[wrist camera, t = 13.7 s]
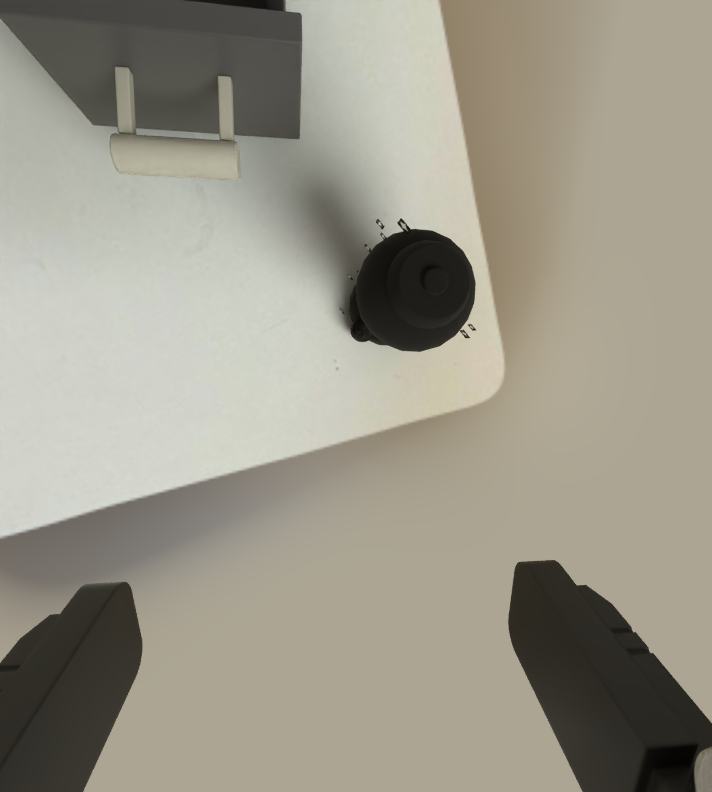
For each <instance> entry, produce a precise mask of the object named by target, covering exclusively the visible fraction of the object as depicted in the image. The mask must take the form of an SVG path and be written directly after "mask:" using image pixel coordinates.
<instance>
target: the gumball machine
mask: <svg viewBox="0 0 712 792" xmlns="http://www.w3.org/2000/svg"><path fill="white" fill-rule="evenodd" d="M376 223H377V224H378V225H379V226H380V227H381V229H383V228H384V226H383V224H382V223H381V222H380V221H379V220H378V219H377V221H376ZM398 225H399V226H400V227H401V228H402V229H403V232H399V233H395V234H393V235H391V236H389V237H388V238H386V237H385V236H384V234H383V233H382V232H381V234H380V235H381V236H382V238H383V239H384V240H383V241H382V242H380V243H379V244H377V245H376V246H375V247H374V248H373V250H371V249H370V248H369V247H368V246H367V244H365V247H366V248H367V250H368V251H369V252H370V254H369V255H368V256H367V257H366V259H365V260H364V262H363V264H362V267H361V270H360V272H359V271H357V272H358V273H359V275H358V278H357V283H356V285H355V286H354V288H353V291H352V294H351V297H350V308H349V311H350V315H351V318H352V321H353V324H352V326H351V335H352V337H353V338H354V339H355V340H357V341H359V342H365V341H371V342H374V343H376V344H379V345H388V346H391V347H393V348H396V349H399V350H401V351H417V352H421V351H424V350H428V349H431V348H435V347H438V346H441V345H442V344H443V343H445V342H446V341H448V340H449V339H451V338H452V337H454V336H455V335H456V334H457V333H458V331H459V330H460V329H461V328H462V326H463V325H464V324H465V322H466V321H467V320H468V318H469V315H470V312H471V310H472V307H473V304H474V299H475V284H476V283H475V279H474V274H473V270H472V266H471V264H470V262H469V261H468V259H467V257H466V255H465V254H464V252H463V250H461V249H460V248H459V247H458V246H457V245H456V244H455V243H454V242H453V241H452V240H451V239H449V238H447V237H445V236H443V235H441V234H438V233H436V232H434V231H430V230H419V229H410V228H409V227H408V226H407V224H406V223H405V222H404V221H403V220H402V218H401V219H400V220H399V222H398ZM348 277H349V278H350V279H351V280H353V279H352V278H351V277H350V275H349V274H348ZM340 310H341V309H340ZM341 312H342V313H343V314H344V312H343V311H342V310H341ZM468 326H469V327H470V328H471V329H472V330H473V331H474V330H476V329H475V328H474V327H473V326H472V325H471V324H469V325H468ZM460 332H461V333H462V334H463V335H464V337H465V338H470V337H469V336H468V335H467V333H466V332H465V331H464V330H460Z"/></svg>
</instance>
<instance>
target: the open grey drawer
mask: <svg viewBox="0 0 712 792" xmlns="http://www.w3.org/2000/svg"><path fill="white" fill-rule="evenodd" d="M0 18H1V19H2V20H3V22H4V23H5V24H6V25H7V26H8V27H9V28H10V30H11V31H12V32H13V33H14V34H15V35H16V37H17V38H18V39H19V40H20V41H21V42H22V43H23V45H24V46H25V47H26V48H27V49H28V50H29V52H30V53H31V54H32V55H33V56H34V57H35V58H36V60H37V61H38V62H39V63H40V64H41V65H42V66H43V68H44V69H45V70H46V71H47V72H48V73H49V75H50V76H51V77H52V78H53V79H54V80H55V81H56V83H57V84H58V85H59V86H60V87H61V88H62V89H63V91H64V92H65V93H66V94H67V95H68V96H69V98H70V99H71V100H72V101H73V102H74V103H75V104H76V106H77V107H78V108H79V109H80V110H81V111H82V113H83V114H84V115H85V116H86V117H87V118H88V119H89V121H90V122H91V123H92V124H93V125H101V126H115V127H118V132H119V134H116V133H114V134H112V135H111V137H110V152H111V157H112V160H113V163H114V166H115V168H116V170H117V171H118V172H119V173H121V174H134V175H153V176H171V177H189V178H208V179H226V180H240V175H241V168H240V154H239V147H238V144H237V142H235V141H234V135H244V136H259V137H273V138H287V139H299V138H300V108H301V66H302V16H301V14H300V13H294V12H285V0H0ZM136 128H144V129H158V130H172V131H187V132H201V133H216V134H220V140H205V139H190V138H175V137H161V136H146V135H136Z"/></svg>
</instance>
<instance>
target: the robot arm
mask: <svg viewBox="0 0 712 792" xmlns="http://www.w3.org/2000/svg"><path fill="white" fill-rule="evenodd" d="M508 621H509V622H508V624H509V633H510V638H511V641H512V645H513V648H514V650H515V653H516V655H517V657H518V659H519V661H520V663H521V665H522V667H523V669H524V671H525V674H526V676H527V678H528V680H529V682H530V684H531V686H532V688H533V690H534V692H535V694H536V696H537V698H538V700H539V703H540V704H541V707H542V708H543V711H544V713H545V715H546V717H547V719H548V721H549V723H550V725H551V727H552V729H553V731H554V733H555V736H556V738H557V740H558V742H559V744H560V746H561V748H562V750H563V752H564V754H565V756H566V758H567V760H568V762H569V765H570V767H571V769H572V771H573V772H574V775H575V777H576V779H577V781H578V783H579V785H580V787H581V789H582V791H583V792H712V723H711V722H710V721H709V720H708V718H707V717H706V716H705V715H704V714H703V713H702V711H701V710H700V709H699V708H698V706H697V705H696V704H695V703H694V702H693V700H692V699H691V698H690V697H689V696H688V695H687V693H686V692H685V691H684V690H683V689H682V687H681V686H680V685H679V684H678V683H677V681H676V680H675V679H674V678H673V677H672V675H671V674H670V673H669V672H668V671H667V669H666V668H665V667H664V666H663V665H662V663H661V662H660V661H659V660H658V659H657V657H656V656H655V655H654V654H653V653H650V652H649V649H648V647H647V645H646V644H645V643H644V642H643V641H642V639H641V638H640V637H639V636H638V635H637V633H636V632H634V633H633V631H632V628H631V626H630V625H629V624H628V623H627V621H626V620H625V619H624V618H623V617H622V616H621V614H620V613H619V612H618V611H617V609H616V608H615V607H614V606H613V605H612V604H611V603H610V602H608V601H607V600H606V599H604V598H603V597H602V596H600V595H599V594H598V593H596V592H595V591H593V590H592V589H591V588H589V587H588V586H587V585H579V586H577V585H576V584H575V583H574V582H573V580H572V579H571V578H570V576H569V575H568V574H567V573H566V571H565V570H564V569H563V567H562V566H561V565H560V564H559V563H558V562H556V561H555V560H548V561H547V560H546V561H528V562H519V563H517V565H516V567H515V572H514V579H513V587H512V595H511V603H510V611H509V620H508ZM141 656H142V637H141V633H140V628H139V623H138V618H137V614H136V609H135V604H134V599H133V595H132V590H131V587H130V586H129V584H128V583H127V582H117V583H116V582H115V583H97V584H86V585H84V586H82V587H81V588H80V589H79V590H78V591H77V592H76V594H75V595H74V596H73V598H72V599H71V600H70V602H69V603H68V604H67V606H66V607H65V608H64V610H63V611H62V612H61V614H54V615H49V616H48V617H47V618H46V619H44V620H43V621H42V622H41V623H39V624H38V625H37V626H36V627H34V628H33V629H32V630H30V631H29V632H28V633H27V634H25V635H24V636H23V637H22V638H20V640H19V641H18V642H17V643H16V645H15V646H14V647H13V648H12V649H11V651H10V652H9V653H8V654H7V655H6V657H5V658H4V659H3V660H2V662H1V663H0V792H83V791H84V788H85V786H86V784H87V782H88V780H89V778H90V775H91V773H92V771H93V769H94V767H95V765H96V762H97V760H98V758H99V756H100V754H101V751H102V749H103V747H104V745H105V743H106V741H107V738H108V736H109V734H110V732H111V730H112V727H113V725H114V723H115V721H116V719H117V717H118V714H119V712H120V710H121V708H122V706H123V704H124V701H125V699H126V697H127V695H128V693H129V691H130V689H131V686H132V684H133V682H134V680H135V677H136V675H137V673H138V670H139V666H140V662H141Z"/></svg>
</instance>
